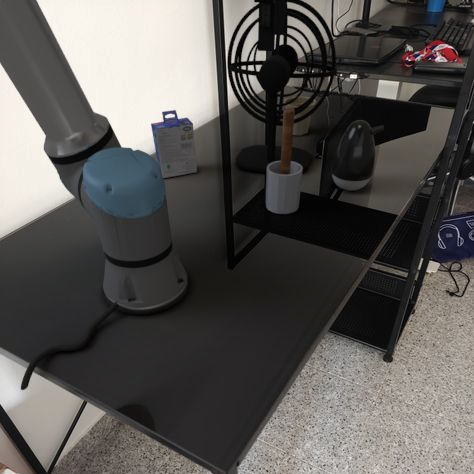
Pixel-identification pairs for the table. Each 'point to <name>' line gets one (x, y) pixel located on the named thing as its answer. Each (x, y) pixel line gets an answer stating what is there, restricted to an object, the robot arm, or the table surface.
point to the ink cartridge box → (174, 145)
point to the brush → (287, 141)
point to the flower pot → (303, 125)
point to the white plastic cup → (283, 188)
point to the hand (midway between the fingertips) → (271, 42)
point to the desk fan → (278, 84)
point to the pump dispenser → (355, 156)
